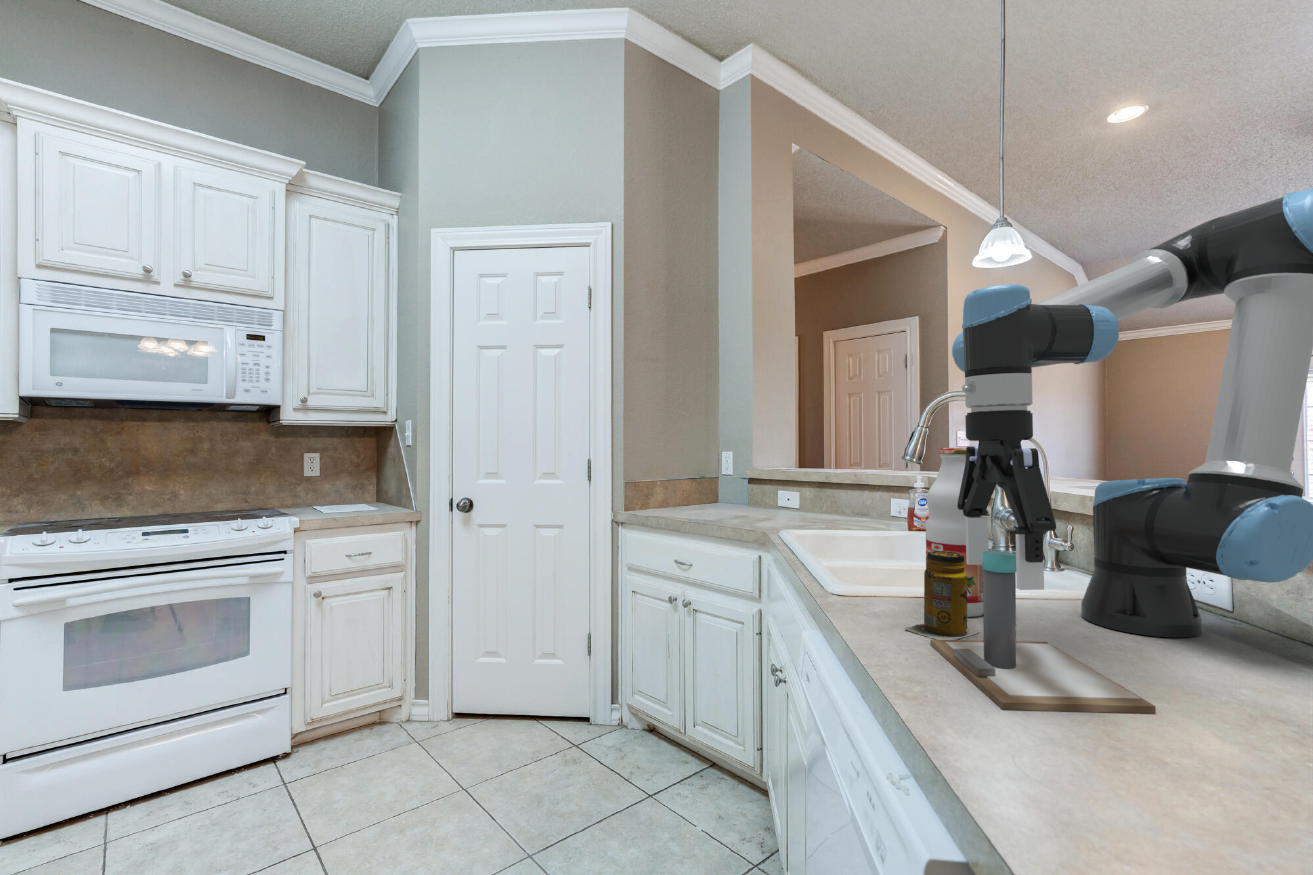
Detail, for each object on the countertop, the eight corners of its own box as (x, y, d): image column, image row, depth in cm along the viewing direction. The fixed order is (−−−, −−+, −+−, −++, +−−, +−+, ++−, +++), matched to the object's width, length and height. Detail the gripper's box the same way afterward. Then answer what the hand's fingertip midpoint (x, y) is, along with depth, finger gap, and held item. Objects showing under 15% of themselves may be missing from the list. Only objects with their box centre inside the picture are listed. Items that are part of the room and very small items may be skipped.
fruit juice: (999, 614, 104) (999, 448, 104) (956, 620, 100) (956, 448, 100) (954, 600, 112) (954, 447, 112) (913, 605, 109) (913, 447, 109)
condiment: (979, 633, 94) (979, 554, 94) (947, 643, 90) (947, 561, 90) (935, 621, 100) (935, 547, 100) (903, 630, 96) (903, 553, 96)
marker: (1009, 659, 80) (1009, 551, 80) (1022, 670, 76) (1021, 557, 76) (978, 657, 81) (977, 550, 81) (989, 668, 77) (988, 556, 77)
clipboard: (1046, 647, 88) (1046, 633, 88) (1155, 713, 67) (1155, 696, 67) (930, 645, 89) (930, 631, 89) (1002, 709, 68) (1002, 692, 68)
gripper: (931, 413, 92) (934, 556, 92) (1018, 406, 67) (1022, 602, 67) (983, 412, 91) (986, 555, 91) (1090, 404, 66) (1095, 601, 66)
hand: (1001, 575), depth 79 cm, fingers open, 13 cm apart
